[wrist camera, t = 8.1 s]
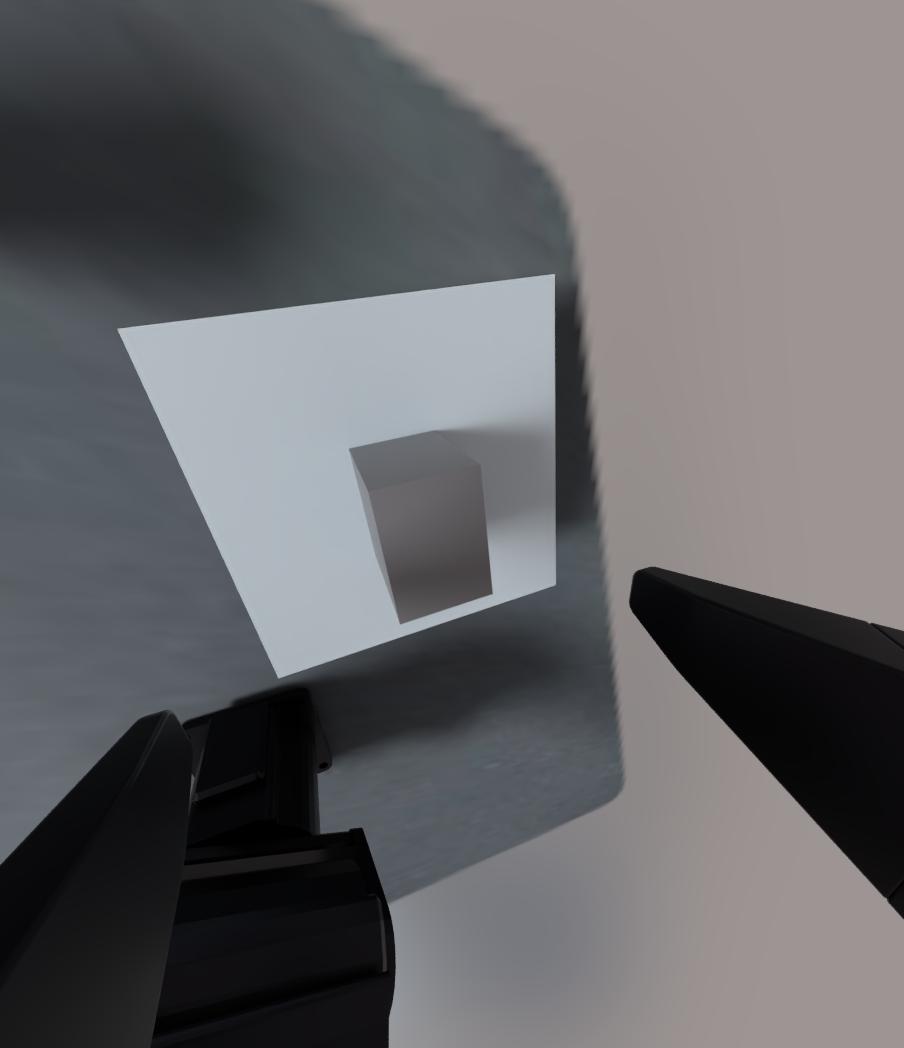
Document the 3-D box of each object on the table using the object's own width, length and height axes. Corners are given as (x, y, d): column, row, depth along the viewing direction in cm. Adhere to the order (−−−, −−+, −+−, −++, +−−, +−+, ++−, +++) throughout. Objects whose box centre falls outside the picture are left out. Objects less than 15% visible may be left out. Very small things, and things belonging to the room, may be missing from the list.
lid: (546, 575, 19) (615, 643, 15) (279, 663, 16) (273, 777, 12) (541, 276, 13) (651, 252, 9) (129, 329, 10) (20, 327, 6)
